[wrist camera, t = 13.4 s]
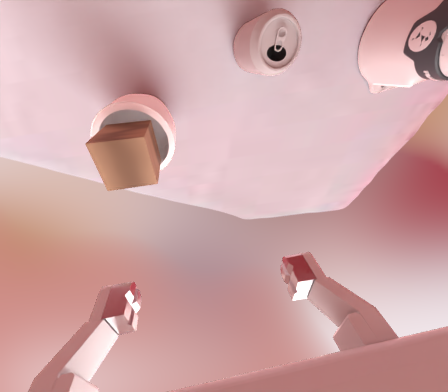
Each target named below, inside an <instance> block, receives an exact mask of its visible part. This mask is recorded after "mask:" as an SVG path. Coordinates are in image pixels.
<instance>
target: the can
mask: <svg viewBox="0 0 448 392" xmlns="http://www.w3.org/2000/svg"><path fill="white" fill-rule="evenodd" d="M301 40H302V36H301V29H300V26H299V24H298V21H297V20H296V18H295V17H294V16H293V15H292V14H291V13H290V12H289V11H287V10H285V9H282V8H281V9H272V10H270V11H268V12H266V13H264V14H262V15H260V16H258V17H256V18H255V19H253V20H251V21H249V22H247V23H245V24H244V25H243V26H242V27H241V28H240V29H239V31H238V33H237V35H236V37H235V41H234V45H233V46H234V56H235V60H236V62H237V64H238V65H239V67H240V68H242V69H243V70H244V71H246V72H249V73H255V74H260V75H266V76H276V75H279V74H281V73H283V72H284V71H286V70H287V69H288V68H289V67H290V66H291V64H292V63H293V62H294V60H295V59H296V57H297V55H298V53H299V50H300V47H301Z"/></svg>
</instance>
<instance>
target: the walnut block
mask: <svg viewBox="0 0 448 392" xmlns="http://www.w3.org/2000/svg"><path fill="white" fill-rule="evenodd" d="M86 146H87V148H88V150H89V152H90V155H91V157H92V159H93V161H94V163H95V165H96V167H97V169H98V171H99V174H100V176H101V178H102V180H103V182H104V184H105V186H106V188H107V190H108V191H111V190H118V189H125V188H132V187H138V186H145V185H152V184H158V178H159V171H160V164H161V157H160V153H159V149H158V145H157V141H156V137H155V133H154V129H153V126H152V122H151V120H146V121H137V122H127V123H118V124H108V125H105V126H104V127H103V128H102V129H101V130H100V131H99V132H98V133H97V134H95V135H94V136H93V137H92V138H91V139H90V140H89V141H88V142H87V143H86Z"/></svg>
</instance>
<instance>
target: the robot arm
mask: <svg viewBox="0 0 448 392" xmlns="http://www.w3.org/2000/svg"><path fill="white" fill-rule="evenodd" d="M358 65H359V70H360V72H361V74H362V76H363V77H364V78H365V79H366V80H367V82H368V85H369V90H370V92H371V93H380V92H383V91H386V90H389V89H392V88H395V87H411V86H412V85H414V84H418V83H420V82H423V81H425V80H428V79H430V80H434V81H445V80H448V0H386V1H385V2H384V3H383V4H382V5H381V6H380V7H379V8H378V10H377V11H376V12H375V13H374V15H373V16H372V18H371V19H370V21H369V23H368V25H367V26H366V28H365V31H364V33H363V36H362V38H361V42H360V46H359V51H358ZM381 85H382V86H381ZM282 261H283V264H282V265H281V269H280V270H281V275H282V278H283V280H284V282H285V283H287V284H288V288H287V289H288V292H289V294H290V296H291V298H292V300H299V299H305V298H307V299H308V300H309V301H310V302H311V303H312V304H313V305H314V306H316V307H317V308H318V309H319V310H320V311H321V312H322V313H323V314H324V315H326V316H327V317H328V318H329V319H330V320H331V321H332V322H333V323H334V324H336V326H338V327H339V328H338V329H337V331H336V332H335V334H334V336H333V338H334V340H335V342H336V344H337V346H338V348H339V350H340V352H335V353H331V354H327V355H323V356H319V357H314V358H310V359H306V360H301V361H297V362H293V363H289V364H284V365H280V366H276V367H271V368H267V369H263V370H259V371H254V372H250V373H246V374H241V375H237V376H233V377H228V378H224V379H220V380H215V381H211V382H207V383H203V384H198V385H194V386H190V387H185V388H181V389H177V390H172V391H168V392H448V326H447V327H443V328H439V329H434V330H430V331H426V332H421V333H417V334H413V335H409V336H404V337H400V338H399V337H398V336H397V335H396V334H395V332H394V331H393V330H392V328H391V327H390V326H389V324H388V323H387V322H386V320H385V319H384V318H383V316H382V315H381V314H380V313H379V311H378V310H377V309H376V307H374V306H373V305H371V304H369V303H368V302H366V301H365V300H363V299H362V298H360V297H359V296H357V295H356V294H354V293H353V292H351V291H350V290H348V289H347V288H345V287H344V286H342V285H341V284H339V283H337V282H336V281H334V280H333V279H331V278H330V277H326V276H325V274H324V273H323V271H322V269H321V268H320V266H319V265H318V263H317V262H316V260H315V259H314V257H313V256H312V254H311V253H310V252H306V253H298V254H293V255H288V256H284V257H283V258H282ZM140 306H141V294H140V291H139V290H138V289H136V284H135V282H129V283H124V284H117V285H110V286H104V287H102V288H101V290H100V291H99V294H98V297H97V299H96V302H95V305H94V308H93V311H92V313H91V316H90V319H89V322H86V323H84V324H83V326H82V327H81V328H80V329H79V330H78V331H77V332H76V334H75V335H74V336H73V337H72V338H71V339H70V340H69V341H68V342H67V343H66V344H65V345H64V347H63V348H62V349H61V350H60V351H59V352H58V353H57V354H56V355H55V356H54V358H53V359H52V360H51V361H50V362H49V363H48V364H47V365H46V366H45V368H44V369H43V370H42V371H41V372H40V373H39V374H38V375H37V376H36V377H35V379H34V380H33V382H32V384H31V387H30V389H29V391H28V392H99V389H98V387H97V386H95V385H93V384H92V383H90V382H89V381H90V380H91V378H92V376H93V375H94V374H95V372H96V370H97V369H98V367H99V366H100V364H101V363H102V361H103V360H104V358H105V357H106V355H107V353H108V352H109V350H110V349H111V347H112V346H113V344H114V342H115V341H116V340H117V338H118V335H122V334H126V333H130V332H135V331H136V329H137V323H138V315H137V311H138V310H139V309H140Z"/></svg>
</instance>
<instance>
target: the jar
mask: <svg viewBox="0 0 448 392" xmlns="http://www.w3.org/2000/svg"><path fill="white" fill-rule="evenodd" d="M146 120H151V122H152V126H153V129H154V133H155V137H156V141H157V145H158V149H159V153H160V157H161V164H160V171H161V170H162V169H164V168H165V167H166V166H167V165H168V164H169V163H170V161H171V159H172V157H173V155H174V151H175V137H176V129H175V124H174V120H173V118H172V116H171V114H170V112H169V111H168V109H167V107H166V106H165V104H164V103H163V102H162V101H161V100H159V99H158V98H156V97H154V96H152V95H148V94H128V95H124V96H122V97H119V98H118V99H116V100H114V101H113V102H112V103H111V104H110V105H108V106H106V107H104V108H103V109H102V110H100V111H99V112H98V113H97V115H96V116H95V118H94V120H93V122H92V125H91V138H92V137H93V136H94V135H95V134H97V133H98V132H99V131H100V130H101V129H102V128H103V127H104V126H105V125H108V124H118V123H127V122H137V121H146Z"/></svg>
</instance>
